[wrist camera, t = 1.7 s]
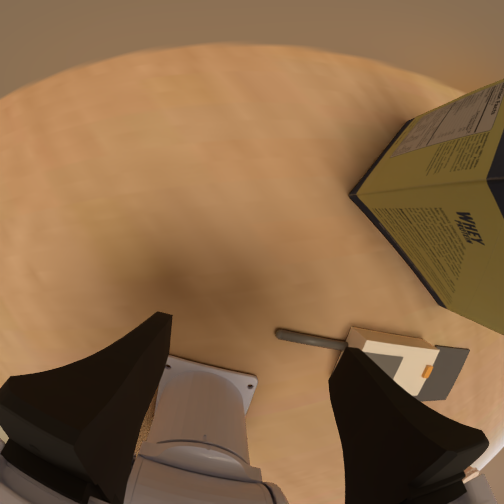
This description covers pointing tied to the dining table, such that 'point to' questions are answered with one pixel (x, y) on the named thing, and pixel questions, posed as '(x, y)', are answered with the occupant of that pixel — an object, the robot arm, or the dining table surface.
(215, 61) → the dining table surface
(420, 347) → the cream walkie talkie
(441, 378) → the coaster
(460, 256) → the protein box
